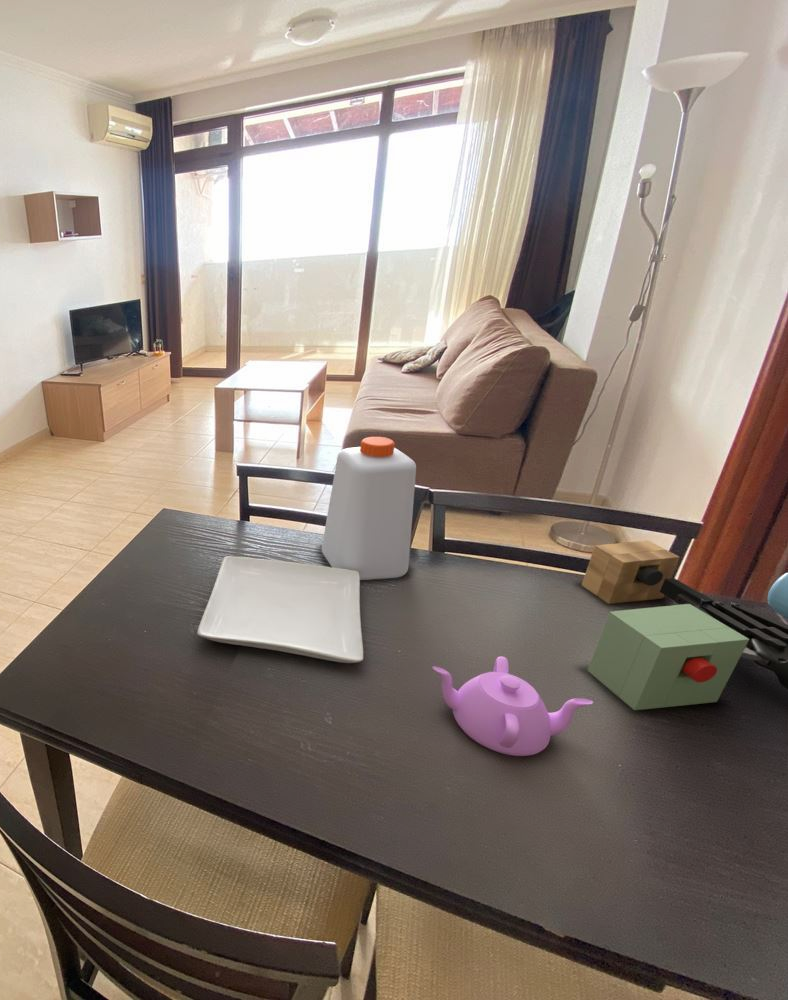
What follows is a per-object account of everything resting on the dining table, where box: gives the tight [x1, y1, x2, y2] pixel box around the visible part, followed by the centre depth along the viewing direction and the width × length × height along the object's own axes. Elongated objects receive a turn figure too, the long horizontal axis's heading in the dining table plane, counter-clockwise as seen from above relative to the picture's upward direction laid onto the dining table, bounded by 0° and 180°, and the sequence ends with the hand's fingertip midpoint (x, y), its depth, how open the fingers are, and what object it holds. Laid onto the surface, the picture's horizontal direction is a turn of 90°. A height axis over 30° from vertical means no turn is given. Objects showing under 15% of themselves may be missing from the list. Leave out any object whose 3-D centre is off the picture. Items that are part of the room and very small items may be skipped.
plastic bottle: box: [321, 436, 417, 581], centre depth 111 cm, size 15×15×28 cm
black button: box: [637, 567, 663, 586], centre depth 94 cm, size 3×2×3 cm, turn 93°
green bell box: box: [587, 604, 749, 711], centre depth 78 cm, size 12×8×12 cm, turn 93°
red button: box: [682, 658, 717, 682], centre depth 73 cm, size 3×2×3 cm, turn 93°
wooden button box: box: [581, 539, 681, 605], centre depth 98 cm, size 10×6×10 cm, turn 93°
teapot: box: [432, 656, 594, 757], centre depth 74 cm, size 12×14×9 cm
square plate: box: [196, 555, 364, 664], centre depth 102 cm, size 27×27×4 cm
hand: (666, 585), depth 92 cm, fingers closed
